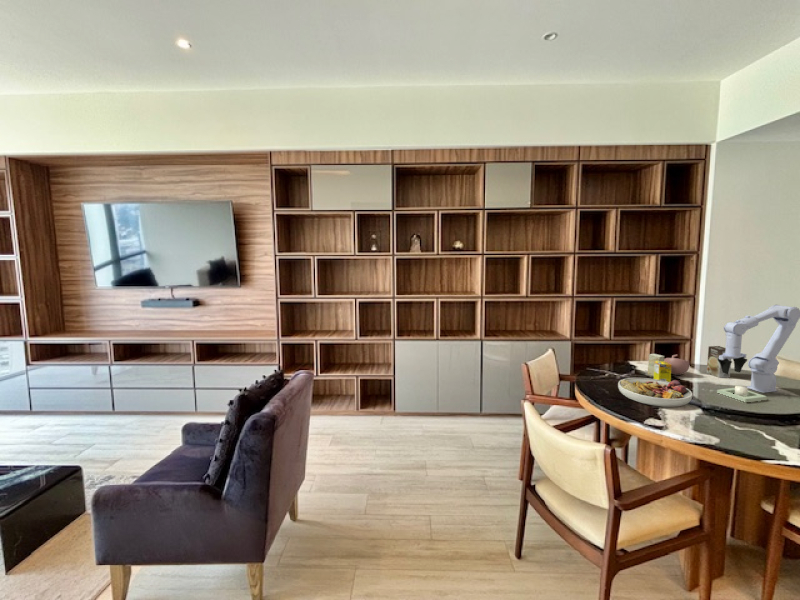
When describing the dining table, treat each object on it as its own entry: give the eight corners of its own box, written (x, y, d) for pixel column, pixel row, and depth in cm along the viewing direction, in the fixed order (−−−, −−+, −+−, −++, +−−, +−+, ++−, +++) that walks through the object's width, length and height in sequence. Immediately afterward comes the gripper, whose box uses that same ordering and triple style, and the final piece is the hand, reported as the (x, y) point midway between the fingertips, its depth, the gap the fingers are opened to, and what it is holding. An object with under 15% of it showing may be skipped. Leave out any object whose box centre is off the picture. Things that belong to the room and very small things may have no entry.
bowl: (651, 412, 164) (652, 395, 164) (604, 389, 194) (604, 374, 193) (708, 406, 169) (710, 390, 168) (654, 384, 198) (655, 370, 198)
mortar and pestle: (688, 373, 215) (690, 354, 213) (688, 378, 205) (690, 358, 204) (663, 369, 222) (664, 351, 221) (662, 375, 213) (663, 355, 211)
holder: (737, 391, 185) (737, 387, 185) (766, 400, 173) (766, 396, 173) (716, 393, 183) (717, 389, 183) (744, 403, 171) (745, 399, 171)
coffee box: (705, 372, 214) (707, 346, 212) (716, 372, 214) (718, 345, 212) (719, 378, 205) (721, 350, 203) (730, 377, 205) (732, 349, 203)
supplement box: (670, 384, 198) (672, 364, 196) (658, 383, 199) (659, 364, 198) (665, 380, 204) (666, 361, 202) (653, 380, 205) (654, 361, 203)
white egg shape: (739, 394, 181) (740, 385, 180) (749, 398, 176) (750, 388, 176) (731, 395, 180) (732, 385, 179) (742, 399, 176) (742, 389, 175)
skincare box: (647, 374, 214) (648, 354, 213) (652, 373, 216) (653, 353, 214) (658, 377, 208) (659, 356, 207) (663, 376, 210) (664, 355, 209)
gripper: (736, 343, 189) (734, 368, 191) (713, 345, 187) (711, 371, 188) (751, 346, 182) (749, 373, 184) (728, 348, 180) (726, 375, 181)
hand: (731, 372), depth 186 cm, fingers open, 7 cm apart
